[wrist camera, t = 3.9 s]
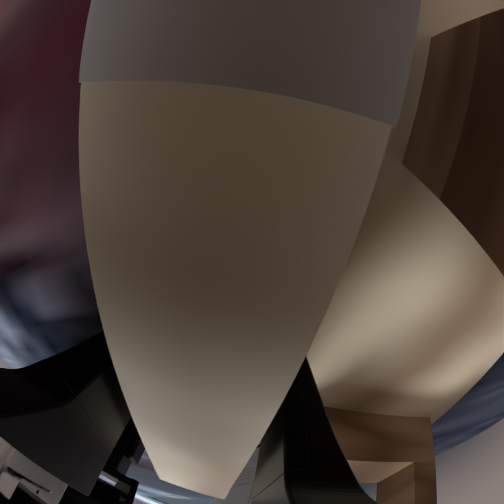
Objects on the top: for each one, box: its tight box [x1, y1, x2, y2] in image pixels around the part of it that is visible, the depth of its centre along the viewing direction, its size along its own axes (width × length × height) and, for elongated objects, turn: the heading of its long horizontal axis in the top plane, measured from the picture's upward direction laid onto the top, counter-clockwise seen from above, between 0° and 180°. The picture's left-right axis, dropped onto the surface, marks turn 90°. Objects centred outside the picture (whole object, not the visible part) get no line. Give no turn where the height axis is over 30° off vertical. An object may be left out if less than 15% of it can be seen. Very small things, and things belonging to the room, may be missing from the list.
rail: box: [79, 0, 421, 499], centre depth 8 cm, size 4×20×5 cm, turn 170°
